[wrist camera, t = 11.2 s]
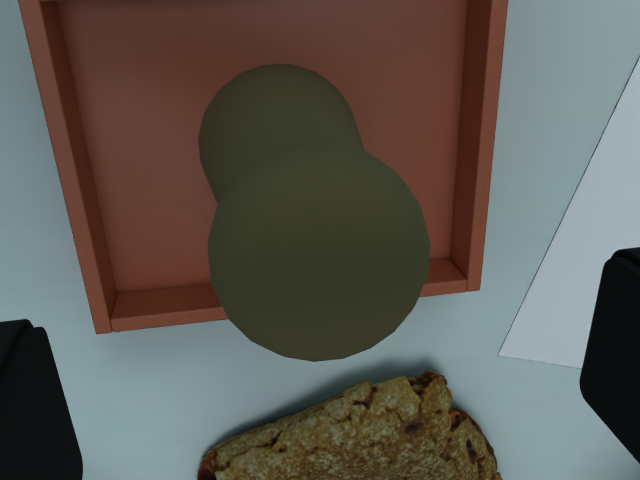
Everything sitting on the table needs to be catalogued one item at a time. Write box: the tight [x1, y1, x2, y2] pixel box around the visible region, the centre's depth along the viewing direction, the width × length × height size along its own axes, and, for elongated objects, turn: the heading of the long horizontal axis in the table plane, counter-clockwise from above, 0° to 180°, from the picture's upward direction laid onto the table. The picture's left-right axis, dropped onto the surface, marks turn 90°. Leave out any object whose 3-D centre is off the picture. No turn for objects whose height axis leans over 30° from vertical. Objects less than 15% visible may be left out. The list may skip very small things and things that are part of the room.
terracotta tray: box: [18, 0, 508, 334], centre depth 22 cm, size 15×12×2 cm
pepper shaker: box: [198, 64, 431, 362], centre depth 17 cm, size 6×6×11 cm
